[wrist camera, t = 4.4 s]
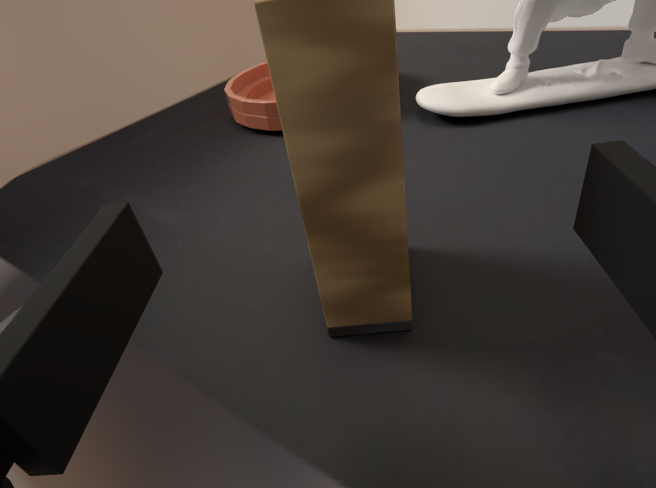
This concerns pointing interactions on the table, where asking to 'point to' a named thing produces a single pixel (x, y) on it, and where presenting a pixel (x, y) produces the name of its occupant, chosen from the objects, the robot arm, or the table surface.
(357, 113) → the wooden block
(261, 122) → the bowl
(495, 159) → the table surface
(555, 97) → the figurine
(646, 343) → the table surface
